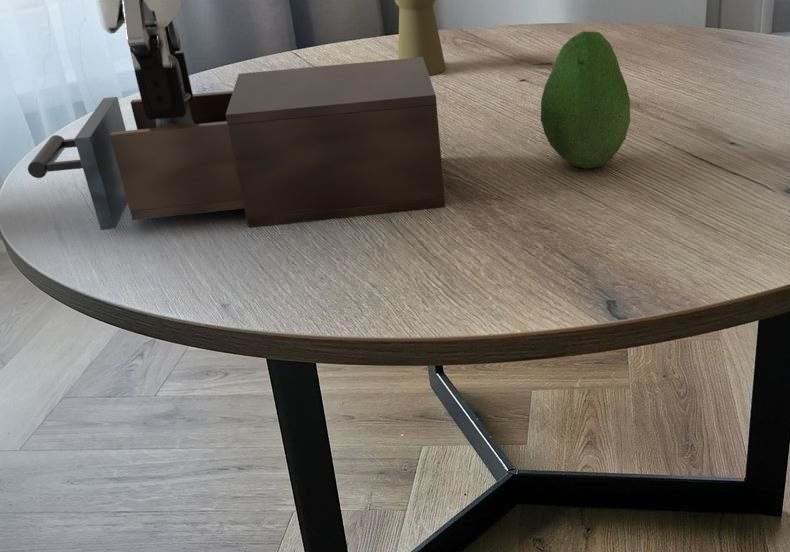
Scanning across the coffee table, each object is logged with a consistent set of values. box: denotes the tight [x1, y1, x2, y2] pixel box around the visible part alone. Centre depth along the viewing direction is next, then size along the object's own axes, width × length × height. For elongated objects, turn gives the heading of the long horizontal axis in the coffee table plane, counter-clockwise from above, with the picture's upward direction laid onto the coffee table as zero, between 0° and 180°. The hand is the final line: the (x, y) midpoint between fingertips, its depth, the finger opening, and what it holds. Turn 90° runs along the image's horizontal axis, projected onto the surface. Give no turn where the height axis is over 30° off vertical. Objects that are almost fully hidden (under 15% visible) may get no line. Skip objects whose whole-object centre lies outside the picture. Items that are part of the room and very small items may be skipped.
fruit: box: [540, 30, 631, 170], centre depth 85 cm, size 8×8×12 cm
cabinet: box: [226, 57, 446, 228], centre depth 84 cm, size 17×13×10 cm
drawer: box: [27, 90, 244, 231], centre depth 82 cm, size 20×11×8 cm, turn 99°
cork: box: [394, 0, 447, 77], centre depth 118 cm, size 6×6×11 cm
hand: (170, 107), depth 80 cm, fingers closed on salt shaker, 3 cm apart
